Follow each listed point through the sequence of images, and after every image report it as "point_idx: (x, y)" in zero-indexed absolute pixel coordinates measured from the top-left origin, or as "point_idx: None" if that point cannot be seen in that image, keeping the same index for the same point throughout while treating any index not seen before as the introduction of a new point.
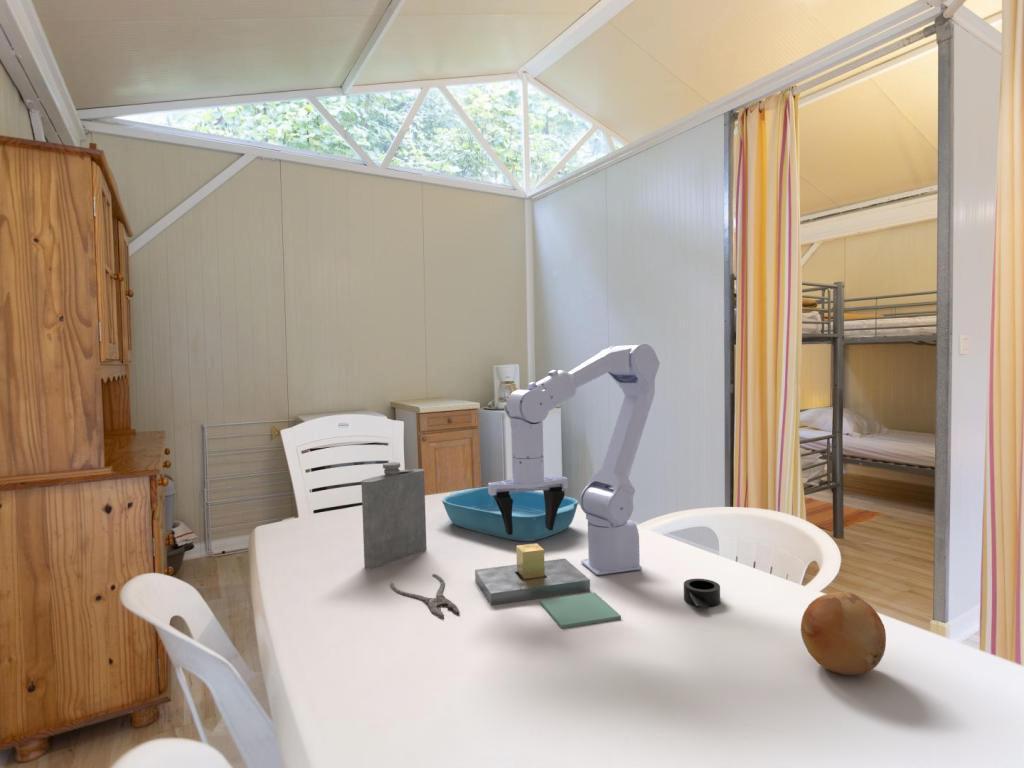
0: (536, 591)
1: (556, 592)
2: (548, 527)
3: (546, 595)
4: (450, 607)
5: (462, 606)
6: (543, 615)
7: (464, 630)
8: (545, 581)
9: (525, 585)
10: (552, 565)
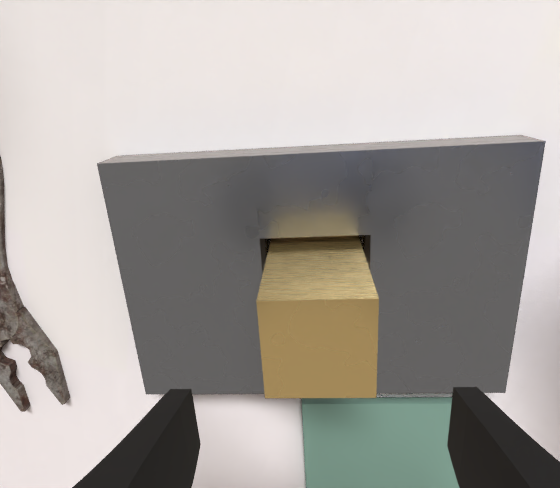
0: None
1: None
2: (452, 442)
3: None
4: (38, 369)
5: (75, 352)
6: (288, 458)
7: (85, 468)
8: None
9: None
10: (442, 216)
